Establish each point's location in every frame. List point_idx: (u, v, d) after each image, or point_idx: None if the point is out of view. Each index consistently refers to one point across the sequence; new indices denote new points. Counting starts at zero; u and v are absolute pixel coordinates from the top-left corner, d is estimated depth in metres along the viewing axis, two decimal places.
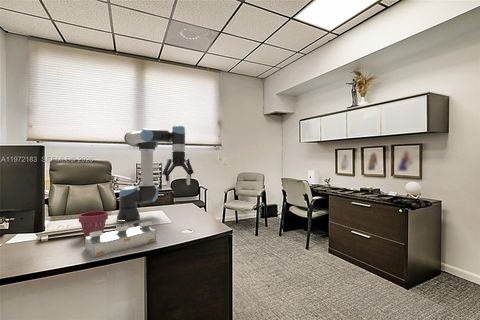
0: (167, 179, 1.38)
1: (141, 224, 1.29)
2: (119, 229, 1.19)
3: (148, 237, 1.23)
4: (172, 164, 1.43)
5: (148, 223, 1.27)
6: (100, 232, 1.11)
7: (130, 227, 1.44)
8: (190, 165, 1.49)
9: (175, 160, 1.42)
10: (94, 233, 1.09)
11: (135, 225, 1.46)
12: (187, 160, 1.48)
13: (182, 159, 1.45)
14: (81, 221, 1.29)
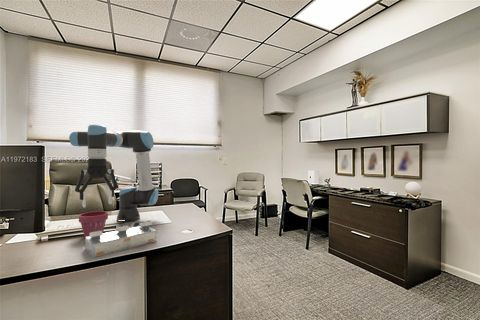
0: (81, 197, 1.05)
1: (141, 224, 1.29)
2: (119, 229, 1.19)
3: (148, 237, 1.23)
4: None
5: (148, 223, 1.27)
6: (100, 232, 1.11)
7: None
8: (114, 177, 1.14)
9: (90, 170, 1.07)
10: (94, 233, 1.09)
11: (135, 225, 1.46)
12: (111, 170, 1.13)
13: (102, 168, 1.11)
14: (81, 221, 1.29)
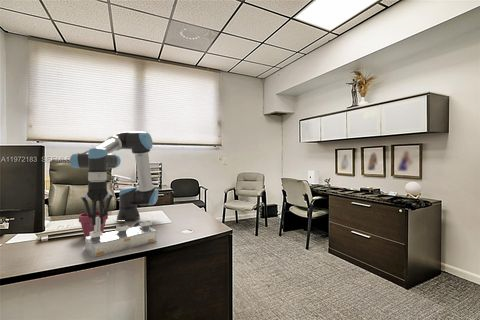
0: (93, 223, 1.08)
1: (141, 224, 1.29)
2: (119, 229, 1.19)
3: (148, 237, 1.23)
4: (92, 200, 1.09)
5: (148, 223, 1.27)
6: (100, 233, 1.11)
7: (131, 226, 1.46)
8: (109, 203, 1.12)
9: (90, 193, 1.07)
10: (94, 234, 1.09)
11: (136, 225, 1.46)
12: (110, 195, 1.13)
13: (102, 191, 1.11)
14: (81, 221, 1.29)
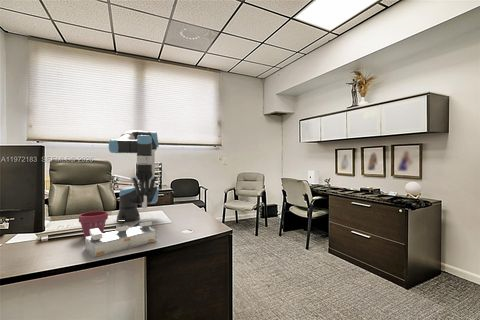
0: (142, 200, 1.25)
1: (141, 224, 1.29)
2: (119, 229, 1.19)
3: (148, 237, 1.23)
4: (140, 181, 1.25)
5: (148, 223, 1.27)
6: (100, 236, 1.11)
7: None
8: (153, 184, 1.28)
9: (139, 174, 1.23)
10: (94, 237, 1.09)
11: (136, 225, 1.47)
12: (154, 177, 1.28)
13: (148, 173, 1.26)
14: (81, 221, 1.29)
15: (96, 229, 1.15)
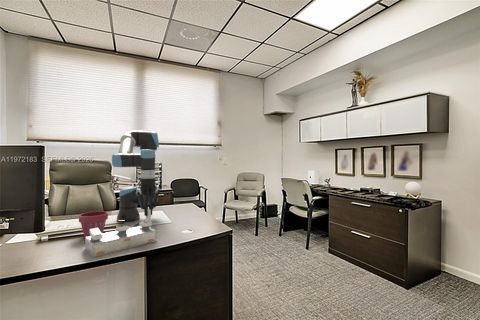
0: (146, 214, 1.25)
1: (141, 224, 1.29)
2: (119, 229, 1.19)
3: (148, 237, 1.23)
4: (143, 195, 1.26)
5: (148, 223, 1.27)
6: (100, 236, 1.11)
7: None
8: (157, 197, 1.29)
9: (143, 188, 1.24)
10: (94, 237, 1.09)
11: (136, 224, 1.47)
12: (157, 190, 1.30)
13: (152, 187, 1.27)
14: (81, 221, 1.29)
15: (96, 229, 1.15)
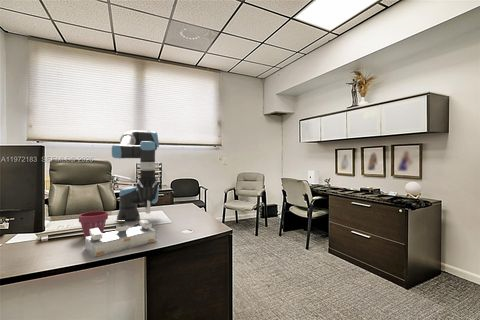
0: (145, 205, 1.26)
1: (141, 223, 1.29)
2: (119, 229, 1.19)
3: (148, 237, 1.23)
4: (143, 186, 1.27)
5: (148, 226, 1.27)
6: (100, 236, 1.11)
7: None
8: (156, 189, 1.29)
9: (143, 180, 1.24)
10: (94, 237, 1.09)
11: (136, 224, 1.47)
12: (157, 182, 1.30)
13: (152, 179, 1.28)
14: (81, 221, 1.29)
15: (96, 229, 1.15)
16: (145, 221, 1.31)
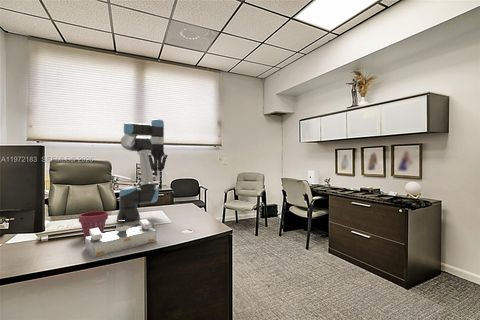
0: (156, 174, 1.48)
1: (141, 223, 1.29)
2: (119, 229, 1.19)
3: (148, 237, 1.23)
4: None
5: (148, 226, 1.27)
6: (100, 236, 1.11)
7: None
8: (165, 161, 1.52)
9: (153, 152, 1.47)
10: (94, 237, 1.09)
11: (137, 224, 1.47)
12: (165, 155, 1.52)
13: (161, 151, 1.50)
14: (81, 221, 1.29)
15: (96, 229, 1.15)
16: (145, 221, 1.30)
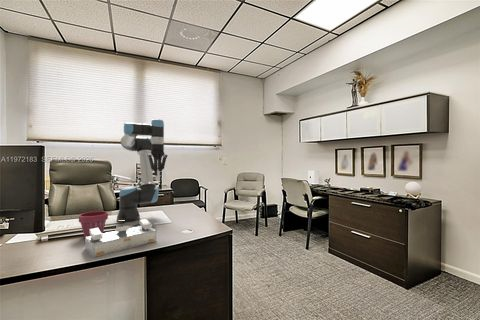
0: (156, 174, 1.48)
1: (141, 223, 1.29)
2: (119, 229, 1.19)
3: (148, 237, 1.23)
4: None
5: (148, 227, 1.27)
6: (100, 236, 1.11)
7: (134, 225, 1.49)
8: (165, 161, 1.52)
9: (153, 152, 1.47)
10: (94, 237, 1.09)
11: (137, 224, 1.47)
12: (165, 155, 1.52)
13: (161, 151, 1.50)
14: (81, 221, 1.29)
15: (96, 229, 1.15)
16: (145, 221, 1.30)
